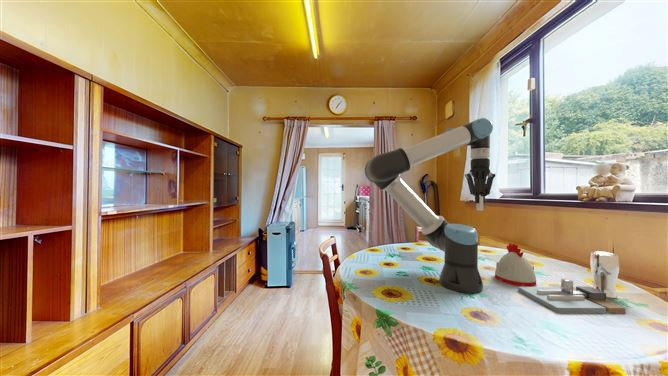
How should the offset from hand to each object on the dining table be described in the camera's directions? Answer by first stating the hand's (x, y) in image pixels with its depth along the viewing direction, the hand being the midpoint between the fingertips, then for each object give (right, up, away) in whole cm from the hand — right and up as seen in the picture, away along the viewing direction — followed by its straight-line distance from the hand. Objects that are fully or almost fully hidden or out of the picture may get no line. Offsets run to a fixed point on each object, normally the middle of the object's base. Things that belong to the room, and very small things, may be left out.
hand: (479, 210), depth 110 cm
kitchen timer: (+10, -29, -8) cm, 31 cm away
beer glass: (+32, -29, -22) cm, 48 cm away
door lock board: (+13, -28, -27) cm, 41 cm away
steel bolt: (+17, -27, -27) cm, 42 cm away
